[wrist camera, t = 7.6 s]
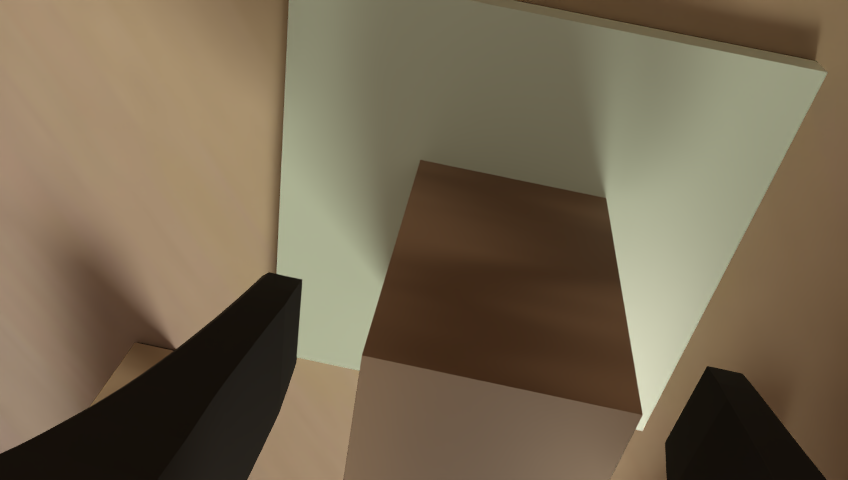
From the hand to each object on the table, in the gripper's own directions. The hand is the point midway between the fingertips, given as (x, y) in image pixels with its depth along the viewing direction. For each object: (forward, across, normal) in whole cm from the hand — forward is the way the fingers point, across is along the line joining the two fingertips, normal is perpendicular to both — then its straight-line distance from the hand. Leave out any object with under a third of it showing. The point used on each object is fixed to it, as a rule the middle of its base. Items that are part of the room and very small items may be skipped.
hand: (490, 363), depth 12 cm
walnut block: (+4, 0, 0) cm, 4 cm away
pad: (+4, 0, 0) cm, 5 cm away
